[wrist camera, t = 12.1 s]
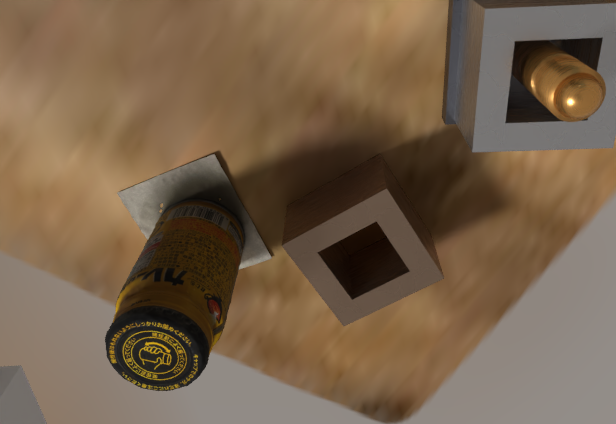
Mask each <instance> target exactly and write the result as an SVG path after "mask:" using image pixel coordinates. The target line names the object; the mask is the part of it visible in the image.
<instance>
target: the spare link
mask: <svg viewBox="0 0 616 424" xmlns="http://www.w3.org/2000/svg"><path fill="white" fill-rule="evenodd" d="M376 221H377V223H378V224H379V226H380V227H381V229H382V230H383V232H384V233H385V235H386V236H387V237H386V238H384V239H382V240H380V241H378V242H376V243H374V244H372V245H370V246H368V247H366V248H364V249H362V250H360V251H359V252H357V253H355V254H353V255H351V256H349V255H348V253H347V252H346V250H345V249H344V248H343V246H342V245H341V243H340V242H339V241H340V240H342V239H344V238H346V237H348V236H350V235H352V234H353V233H355V232H357V231H359V230H361V229H363V228H365V227H367V226H369V225H370V224H372V223H374V222H376ZM282 247H283V248H284V249H285V250H286V252H287V253H288V254H289V256H290V257H291V258H292V260H293V261H294V262H295V263H296V265H297V266H298V267H299V269H300V270H301V271H302V273H303V274H304V275H305V276H306V278H307V279H308V280H309V282H310V283H311V284H312V286H313V287H314V288H315V290H316V291H317V292H318V293H319V295H320V296H321V297H322V299H323V300H324V301H325V303H326V304H327V305H328V306H329V308H330V309H331V310H332V312H333V313H334V314H335V316H336V317H337V318H338V320H339V321H340V322H341V323H342V325H343V326H346V325H348V324H350V323H352V322H354V321H356V320H358V319H360V318H362V317H365V316H367V315H369V314H371V313H373V312H375V311H377V310H379V309H381V308H383V307H385V306H387V305H390V304H392V303H394V302H396V301H398V300H400V299H402V298H404V297H406V296H408V295H410V294H413V293H415V292H417V291H419V290H421V289H423V288H425V287H427V286H429V285H431V284H433V283H435V282H438V281H440V280H442V279H444V275H443V272H442V269H441V266H440V262H439V259H438V256H437V252H436V249H435V246H434V242H433V239H432V236H431V234H430V233H429V231H428V229H427V228H426V226H425V225H424V223H423V222H422V220H421V218H420V217H419V215H418V214H417V212H416V210H415V209H414V207H413V206H412V204H411V202H410V201H409V199H408V198H407V196H406V194H405V193H404V191H403V190H402V188H401V187H400V185H399V183H398V182H397V180H396V179H395V177H394V175H393V174H392V172H391V171H390V169H389V167H388V166H387V164H386V163H385V161H384V159H383V158H382V156H381V155H380V154H379V155H377V156H375V157H373V158H372V159H370V160H368V161H366V162H364V163H363V164H361V165H359V166H357V167H356V168H354V169H352V170H350V171H349V172H347V173H345V174H343V175H341V176H340V177H338V178H336V179H334V180H333V181H331V182H329V183H327V184H325V185H324V186H322V187H320V188H318V189H317V190H315V191H313V192H311V193H310V194H308V195H306V196H304V197H302V198H301V199H299V200H297V201H295V202H294V203H292V204H290V205H288V206H287V211H286V218H285V226H284V233H283V240H282Z"/></svg>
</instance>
